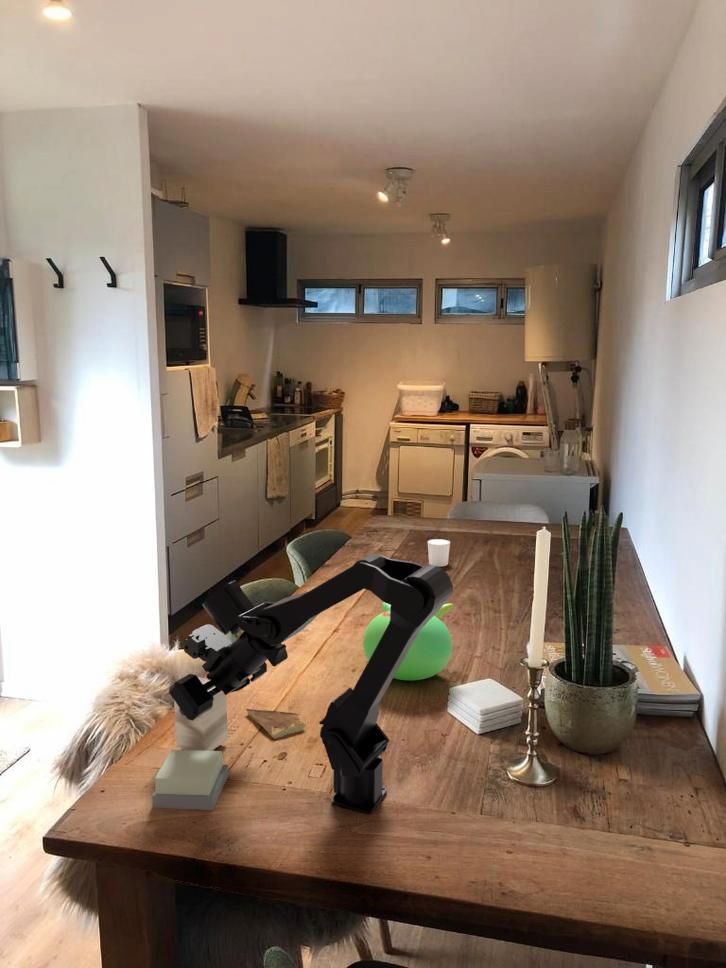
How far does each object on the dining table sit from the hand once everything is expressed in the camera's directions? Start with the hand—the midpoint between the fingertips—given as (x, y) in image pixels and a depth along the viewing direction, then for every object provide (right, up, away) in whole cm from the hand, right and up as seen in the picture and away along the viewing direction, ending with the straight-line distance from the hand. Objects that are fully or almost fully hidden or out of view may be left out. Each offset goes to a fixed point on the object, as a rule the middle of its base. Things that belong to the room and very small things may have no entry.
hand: (194, 704), depth 128 cm
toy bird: (+37, -2, +29) cm, 47 cm away
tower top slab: (+2, -8, -12) cm, 14 cm away
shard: (+12, -7, +8) cm, 16 cm away
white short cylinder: (+51, +12, +106) cm, 118 cm away
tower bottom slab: (+2, -10, -11) cm, 16 cm away
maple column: (+1, -7, +1) cm, 7 cm away
